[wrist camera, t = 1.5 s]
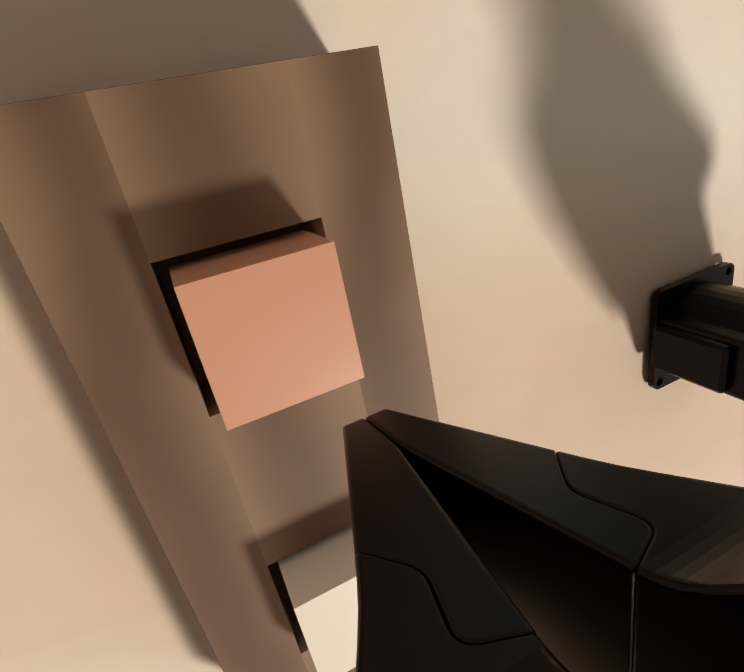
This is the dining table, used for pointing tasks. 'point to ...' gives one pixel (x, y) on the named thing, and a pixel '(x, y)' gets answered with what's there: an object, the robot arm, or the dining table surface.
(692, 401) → the dining table surface
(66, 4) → the dining table surface
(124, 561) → the dining table surface
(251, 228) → the key panel
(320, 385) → the terracotta key
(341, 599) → the white square block
